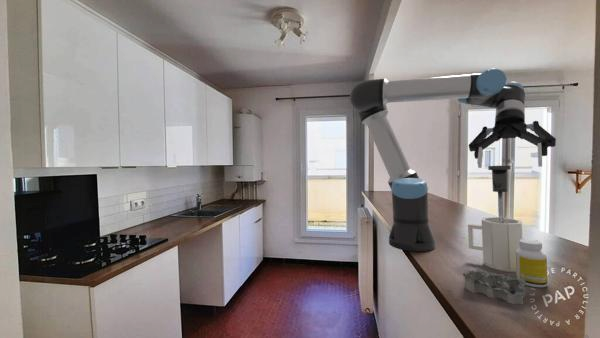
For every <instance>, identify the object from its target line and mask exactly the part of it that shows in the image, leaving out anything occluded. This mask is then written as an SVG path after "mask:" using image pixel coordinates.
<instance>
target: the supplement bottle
mask: <svg viewBox="0 0 600 338" xmlns="http://www.w3.org/2000/svg"><path fill="white" fill-rule="evenodd" d="M519 246H520V247H521V248H519V249H517V250H516V272H515V275H516V277H515V278H519V279H520V278H525V285H524V286H528V287H533V288H546V287H547V286H548V262H547V260H548V257H547V255H546V253H545V252H544V251H542V250H543V243H542V242H541V241H539V240H536V239H528V238H525V239H521V240H519Z"/></svg>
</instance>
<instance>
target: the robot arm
mask: <svg viewBox="0 0 600 338" xmlns="http://www.w3.org/2000/svg"><path fill="white" fill-rule="evenodd" d="M507 81H508V79H507V75H506V73H505V72H504V71H503V70H501V69H499V68H489V69H486V70H485V71H482V72H481V73H472V74H471V73H469V74H460V75H457V74H456V75H446V76H436V77H433V76H432V77H426V78H425V77H423V78H411V79H409V78H408V79H399V80H397V79H396V80H388V79H386V78H377V79H375V78H374V79H367V80H363V81H359V82H357V84H355V85H354V86H353V88H352V89H351V91H350V95H349V101H350V104H351V106H352V107H353V108H354V109H355V110H356V112H357V115H358V117H359V119H360V121H361V123H362V124H363V125H365V126H367V128H368V131H369V133H370V135H371V138H372V139H373V142H374V145H375V146H376V149H377V150H378V153H379V156H380V158H381V160H382V163H383V164H384V167H385V170H386V171H387V174H388V177H389V178H388V181H387V183H388V186H389V188H390V191H391V199H392V202H391V203H392V225H391V229H390V231H389V232H390V233H389V236H388V244H389V245H390V246H391V247H392V248H395V249H398V250H402V251H407V252H408V251H409V252H428V251H432V250H434V249H436V239H435V237H434V233H433V231H432V229H431V226H430V224H429V223H430V219H429V201H428V200H429V197H428V196H429V195H428V191H429V187H428V183H427V181H426V180H425V179H422V178H420V177H419V175H418V173H417V171H415V170H413V169H411V167H410V166H409V163H408V160H407V158H406V156H405V154H404V152H403V150H402V147H401V145H400V143H399V140H398V138H397V136H396V134H395V132H394V130H393V128H392V125H391V123H390V120H389V119H388V113H389V109H388V107H387V104H388V103H389V104H390V103H403V102H404V103H405V102H407V103H409V102H421V101H423V102H424V101H439V100H440V101H442V100H443V101H444V100H455V99H457V102H458V103H460V104H465V105H472V106H477V107H478V106H479V107H486V108H491V109H495V119H494V126H493V127H490V128H489V127H488V126H483V127H482V129H481V131H480V132H479V133H478V134H477V136H475V138H473V139H472V141H471V142H470V143H469V144H468V149H469V152H471V153H472V152H474V153H473V154H474V159H476V160H477V169H478V168H479V169H481V168H482V166H483V159H484V157H483V156H484V150H485V149H486V148H488V147H490V145H491V146H492V144H494V143H495V142H498V141H500V140H501V139H503V140H506V139H507V140H508V139H516V138H518V139H521V140H525V141H527V142H528V143H530V144H533V145H535V146H536V147H537V163H538V164H537V165H538V166H537V167H541V168H542V167H543V157H547V156H548V148H549V147H550V148H555V147H556V145H557V140H556V139H557V138H556V137H555V136H553V135H552V134H551V133H550V132H548V130H546V129H545V128H543V127H542V126H541V125H540V122H539V121H538V120H533V121H532V123H527V124H526V119H525V118H526V117H525V115H526V113H525V112H526V111H525V108H526V107H525V98H526V92H525V88H524V86H523V85H522V83H520V82H517V81H510V82H507ZM528 130H530V131H531V132H530V131H528ZM532 132H533V133H532Z"/></svg>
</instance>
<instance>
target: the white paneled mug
mask: <svg viewBox="0 0 600 338" xmlns="http://www.w3.org/2000/svg"><path fill="white" fill-rule="evenodd" d="M503 218H504V223H499V216H492V217H490V216H489V217H483V218H482V219H481V224H476V223H475V224H473V223H468V224H467V236H468V238H467V239H468V241H467V242H468V249H470V250H477V251H481V252H482V261H483V263H484V265H485V266H486V267H488V268H491V269H493V270H496V271H501V272H507V273H516V250H517V249H519V248H521V247H520V246H519V240H521V239H523V221H522V220H519V219H515V218H510V217H503ZM474 230H480V231H481V238H482V241H481V243H482V245H480V244H475V243H474Z"/></svg>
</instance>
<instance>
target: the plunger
mask: <svg viewBox="0 0 600 338" xmlns="http://www.w3.org/2000/svg"><path fill="white" fill-rule="evenodd" d="M511 169H512V168H511V165H488V171H491V179H492V181H491V182H492V192H495V193H497V204H498V217H499V223H504V218H505V217H504V196H503V193H507V192H508V188H509V187H508V170H509V171H510V170H511Z"/></svg>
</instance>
